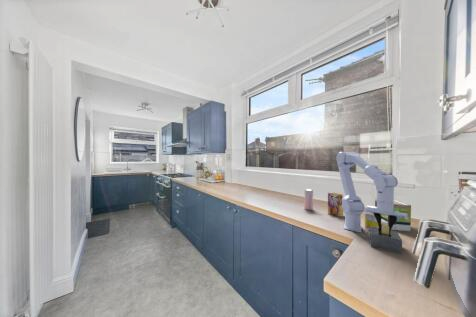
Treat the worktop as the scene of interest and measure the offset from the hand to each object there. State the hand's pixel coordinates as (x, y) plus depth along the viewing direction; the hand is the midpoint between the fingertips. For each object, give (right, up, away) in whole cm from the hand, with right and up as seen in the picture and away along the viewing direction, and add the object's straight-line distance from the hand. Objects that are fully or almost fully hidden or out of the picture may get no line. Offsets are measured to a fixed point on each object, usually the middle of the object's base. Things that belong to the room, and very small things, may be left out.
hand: (384, 230), depth 76 cm
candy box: (+1, -7, +40) cm, 41 cm away
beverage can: (-13, -6, +52) cm, 54 cm away
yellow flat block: (0, -3, 0) cm, 3 cm away
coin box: (0, -7, 0) cm, 7 cm away
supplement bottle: (+8, -7, +17) cm, 20 cm away
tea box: (+24, -7, +23) cm, 34 cm away
